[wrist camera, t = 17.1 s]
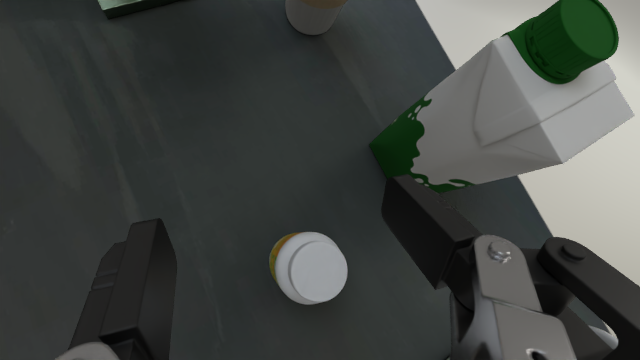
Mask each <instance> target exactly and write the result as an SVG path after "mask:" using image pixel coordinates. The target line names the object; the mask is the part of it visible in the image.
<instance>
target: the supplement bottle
mask: <svg viewBox="0 0 640 360" xmlns="http://www.w3.org/2000/svg"><path fill="white" fill-rule="evenodd" d="M269 266H270V271H271V274H272V276H273V278H274V279H275V281H276V282H277V284H278V285H279V287H280V288H281V290H282V291H283V292H284V293H285V294H286V295H287V296H288V297H289V298H290V299H292V300H293V301H295V302H298V303H301V304H308V305H310V304H317V303H320V302H325V301H328V300H330V299H332V298H334V297H335V296H336V295H337V294H338V293H339V292H340V291H341V290H342V288H343V287H344V285H345V282H346V279H347V263H346V260H345V258H344V256H343V254H342V253H341V251H340V250H339V248H338V246H337V245H336V244H335V243H334V242H333V241H332V240H331V239H330V238H329V237H327V236H325V235H323V234H320V233H316V232H301V233H292V234H289V235H286V236H284V237H282V238H281V239H280V240H279V241H278V242H277V243H276V244H275V245H274V247H273V249H272V251H271V254H270V258H269Z"/></svg>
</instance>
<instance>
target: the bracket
mask: <svg viewBox="0 0 640 360" xmlns="http://www.w3.org/2000/svg"><path fill="white" fill-rule="evenodd" d="M97 1H98V3H99V5H100V6H101V8H102V10H103V12H104V13H105V15H106V17H107V18H108V19H110V18H114V17H117V16H121V15H125V14H129V13H133V12H137V11H141V10H145V9H148V8H152V7H156V6H160V5H164V4H168V3H172V2H176V1H179V0H97Z"/></svg>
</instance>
